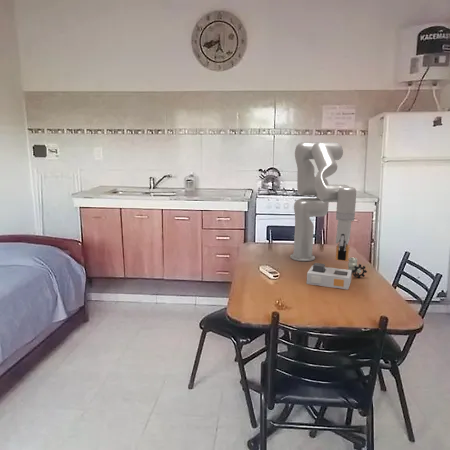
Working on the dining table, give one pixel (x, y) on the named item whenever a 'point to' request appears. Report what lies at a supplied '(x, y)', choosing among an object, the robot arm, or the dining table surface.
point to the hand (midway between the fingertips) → (342, 257)
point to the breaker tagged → (341, 273)
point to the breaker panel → (329, 278)
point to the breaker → (319, 267)
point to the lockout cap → (346, 252)
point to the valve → (356, 267)
